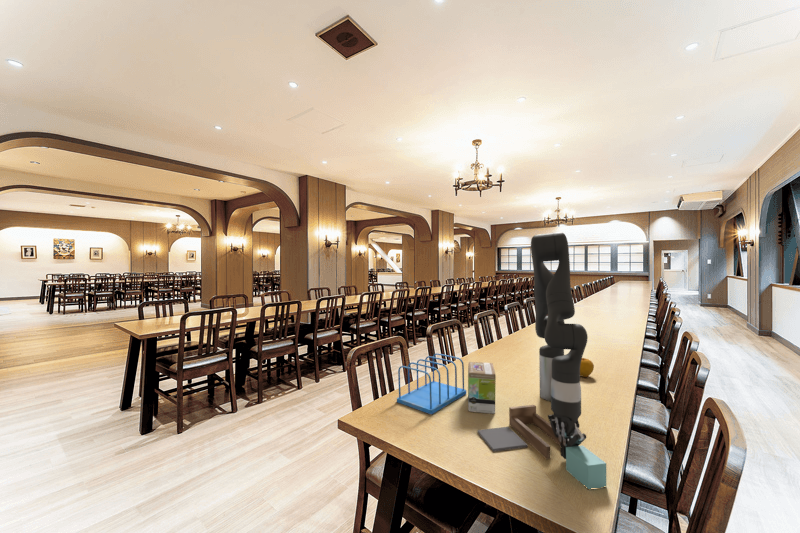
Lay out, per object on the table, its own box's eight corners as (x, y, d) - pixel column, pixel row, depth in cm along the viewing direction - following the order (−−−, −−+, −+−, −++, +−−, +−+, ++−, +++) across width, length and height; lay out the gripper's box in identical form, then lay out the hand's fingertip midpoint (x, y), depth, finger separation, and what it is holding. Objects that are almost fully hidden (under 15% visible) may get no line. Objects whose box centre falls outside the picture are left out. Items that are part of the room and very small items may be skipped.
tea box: (496, 414, 119) (496, 374, 119) (468, 412, 121) (467, 372, 121) (493, 397, 133) (492, 361, 133) (468, 396, 135) (467, 360, 135)
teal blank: (582, 467, 87) (582, 445, 87) (606, 487, 79) (606, 463, 79) (566, 469, 86) (565, 447, 86) (588, 490, 79) (588, 465, 79)
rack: (534, 421, 113) (534, 404, 113) (576, 455, 93) (575, 434, 93) (509, 424, 111) (509, 407, 111) (546, 459, 91) (546, 437, 91)
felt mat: (508, 428, 108) (508, 426, 108) (527, 447, 97) (527, 444, 97) (477, 432, 106) (477, 430, 106) (493, 451, 95) (493, 448, 95)
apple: (568, 374, 160) (568, 356, 160) (580, 372, 164) (580, 354, 164) (585, 380, 152) (585, 361, 152) (598, 377, 155) (598, 358, 155)
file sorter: (433, 384, 149) (433, 351, 149) (466, 394, 137) (466, 358, 137) (396, 402, 130) (396, 364, 130) (431, 415, 118) (431, 373, 118)
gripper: (596, 404, 84) (596, 470, 84) (561, 385, 97) (561, 443, 97) (570, 407, 83) (571, 474, 83) (538, 387, 96) (539, 446, 96)
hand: (565, 457), depth 90 cm, fingers closed
